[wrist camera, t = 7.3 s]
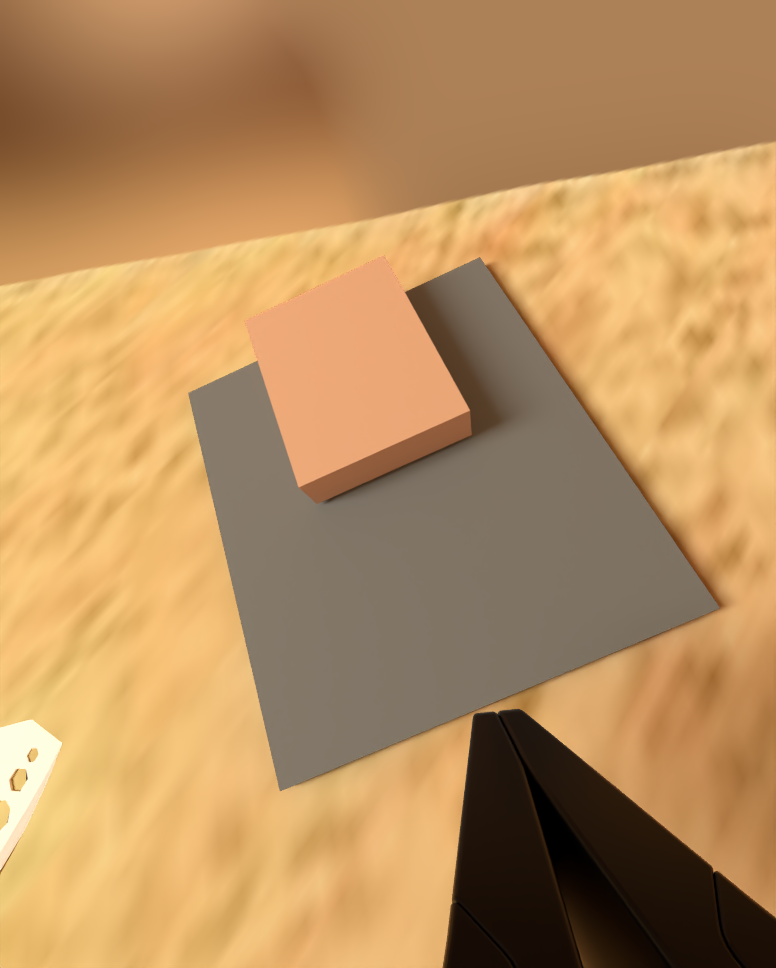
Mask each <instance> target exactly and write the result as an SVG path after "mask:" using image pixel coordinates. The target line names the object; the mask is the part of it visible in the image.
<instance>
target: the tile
mask: <svg viewBox="0 0 776 968" xmlns="http://www.w3.org/2000/svg"><path fill="white" fill-rule="evenodd" d="M245 324H246V327H247V330H248V333H249V336H250V339H251V342H252V345H253V348H254V352H255V355H256V358H257V361H258V364H259V367H260V370H261V373H262V376H263V379H264V382H265V385H266V389H267V392H268V395H269V398H270V401H271V404H272V407H273V410H274V413H275V416H276V419H277V422H278V426H279V429H280V432H281V435H282V438H283V441H284V444H285V447H286V450H287V453H288V456H289V459H290V463H291V466H292V469H293V472H294V475H295V478H296V481H297V484H298V487H299V488H300V489H301V490H302V491H303V492H304V493H305V494H306V495H308V496H309V497H310V498H311V499H312V500H313V501H314V502H315V503H316V504H318V503H321V502H323V501H325V500H327V499H329V498H332V497H334V496H336V495H338V494H341V493H343V492H345V491H347V490H350V489H352V488H354V487H356V486H359V485H361V484H363V483H365V482H368V481H370V480H372V479H374V478H377V477H379V476H381V475H383V474H385V473H388V472H390V471H392V470H394V469H397V468H399V467H401V466H403V465H406V464H408V463H410V462H412V461H415V460H417V459H419V458H421V457H424V456H426V455H428V454H430V453H433V452H435V451H437V450H439V449H441V448H444V447H446V446H448V445H450V444H453V443H455V442H457V441H459V440H462V439H464V438H466V437H468V436H471V435H472V431H471V417H470V410H469V408H468V406H467V404H466V402H465V400H464V399H463V397H462V395H461V393H460V391H459V390H458V388H457V386H456V384H455V382H454V381H453V379H452V377H451V375H450V373H449V371H448V370H447V368H446V366H445V364H444V362H443V361H442V359H441V357H440V355H439V353H438V352H437V350H436V348H435V346H434V344H433V342H432V341H431V339H430V337H429V335H428V333H427V332H426V330H425V328H424V326H423V324H422V323H421V321H420V319H419V317H418V315H417V313H416V312H415V310H414V308H413V306H412V304H411V303H410V301H409V299H408V297H407V295H406V293H405V292H404V290H403V288H402V286H401V284H400V283H399V281H398V279H397V277H396V275H395V274H394V272H393V270H392V268H391V266H390V264H389V263H388V261H387V259H386V257H385V255H383V256H381V257H379V258H377V259H375V260H373V261H371V262H368V263H366V264H364V265H362V266H360V267H358V268H356V269H354V270H351V271H349V272H347V273H345V274H343V275H341V276H339V277H337V278H334V279H332V280H330V281H328V282H326V283H324V284H322V285H320V286H317V287H315V288H313V289H311V290H309V291H307V292H305V293H303V294H300V295H298V296H296V297H294V298H292V299H290V300H288V301H286V302H283V303H281V304H279V305H277V306H275V307H273V308H271V309H269V310H266V311H264V312H262V313H260V314H258V315H256V316H254V317H252V318H249V319H247V320H245Z"/></svg>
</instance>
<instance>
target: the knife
mask: <svg viewBox="0 0 776 968" xmlns="http://www.w3.org/2000/svg"><path fill="white" fill-rule="evenodd" d="M61 746H62V743H61V742H60V741H59V740H57V739H56V738H55V737H54V736H52V735H51V734H50V733H48V732H47V731H46V730H45V729H43V728H42V727H41V726H39V725H38V724H37V723H35V722H34V721H33V720H27V721H23V722H19V723H16V724H12V725H8V726H5V727H1V728H0V801H2V800H6V801H7V803H8V805H9V807H10V813H9V817H8V821H7V824H6V825H5V826H4V827H3V828H2V829H1V831H0V870H1V869H2V867H3V865H4V864H5V862H6V860H7V859H8V857H9V856H10V854H11V852H12V851H13V849H14V847H15V846H16V844H17V842H18V841H19V839H20V837H21V836H22V834H23V832H24V830H25V828H26V826H27V824H28V822H29V820H30V818H31V816H32V814H33V812H34V810H35V807H36V805H37V803H38V801H39V799H40V796H41V794H42V792H43V790H44V788H45V786H46V783H47V781H48V779H49V776H50V774H51V771H52V769H53V766H54V764H55V761H56V758H57V756H58V753H59V751H60V748H61ZM32 748H37V750H38V753H39V755H38V756H37V758H36V760H35V761H34V762H30V761H29V758H28V755H29V753H30V751H31V749H32ZM17 769H26V783H25V784H24V786H23V788H22V789H21V791H15V790H13V786H12V781H11V779H12V777H13V776H14V774H15V773H16V771H17Z"/></svg>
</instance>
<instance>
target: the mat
mask: <svg viewBox="0 0 776 968" xmlns="http://www.w3.org/2000/svg"><path fill="white" fill-rule="evenodd" d="M405 293H406V295H407V297H408V299H409V301H410V303H411V304H412V306H413V308H414V310H415V312H416V313H417V315H418V317H419V319H420V321H421V323H422V324H423V326H424V328H425V330H426V332H427V333H428V335H429V337H430V339H431V341H432V342H433V344H434V346H435V348H436V350H437V352H438V353H439V355H440V357H441V359H442V361H443V362H444V364H445V366H446V368H447V370H448V371H449V373H450V375H451V377H452V379H453V381H454V382H455V384H456V386H457V388H458V390H459V391H460V393H461V395H462V397H463V399H464V400H465V402H466V404H467V406H468V408H469V410H470V417H471V431H472V435H471V436H468V437H466V438H464V439H462V440H459V441H457V442H455V443H453V444H450V445H448V446H446V447H444V448H441V449H439V450H437V451H435V452H433V453H430V454H428V455H426V456H424V457H421V458H419V459H417V460H415V461H412V462H410V463H408V464H406V465H403V466H401V467H399V468H397V469H394V470H392V471H390V472H388V473H385V474H383V475H381V476H379V477H377V478H374V479H372V480H370V481H368V482H365V483H363V484H361V485H359V486H356V487H354V488H352V489H350V490H347V491H345V492H343V493H341V494H338V495H336V496H334V497H332V498H329V499H327V500H325V501H323V502H321V503H318V504H316V503H315V502H314V501H313V500H312V499H311V498H310V497H309V496H308V495H306V494H305V493H304V492H303V491H302V490H301V489H300V488H299V487H298V484H297V481H296V478H295V475H294V472H293V469H292V466H291V463H290V459H289V456H288V453H287V450H286V447H285V444H284V441H283V438H282V435H281V432H280V429H279V426H278V422H277V419H276V416H275V413H274V410H273V407H272V404H271V401H270V398H269V395H268V392H267V389H266V385H265V382H264V379H263V376H262V373H261V370H260V367H259V364H258V361H256V362H254V363H252V364H250V365H248V366H245V367H243V368H241V369H239V370H237V371H235V372H233V373H230V374H228V375H226V376H224V377H222V378H220V379H218V380H215V381H213V382H211V383H209V384H207V385H205V386H203V387H200V388H198V389H196V390H194V391H192V392H190V393H188V394H189V398H190V403H191V407H192V411H193V416H194V420H195V424H196V429H197V433H198V437H199V442H200V446H201V450H202V455H203V459H204V463H205V468H206V472H207V476H208V481H209V485H210V489H211V494H212V498H213V502H214V507H215V511H216V515H217V520H218V524H219V529H220V533H221V537H222V542H223V546H224V550H225V555H226V559H227V563H228V568H229V572H230V576H231V581H232V585H233V589H234V594H235V598H236V602H237V607H238V611H239V615H240V620H241V624H242V628H243V633H244V637H245V641H246V646H247V650H248V654H249V659H250V663H251V667H252V672H253V676H254V680H255V685H256V689H257V693H258V698H259V702H260V707H261V711H262V715H263V720H264V724H265V728H266V733H267V737H268V741H269V746H270V750H271V754H272V759H273V763H274V767H275V772H276V776H277V780H278V785H279V789H280V791H282V790H284V789H287V788H289V787H292V786H294V785H296V784H299V783H301V782H304V781H306V780H308V779H311V778H313V777H316V776H318V775H320V774H323V773H325V772H328V771H330V770H332V769H335V768H337V767H340V766H342V765H344V764H347V763H349V762H352V761H354V760H356V759H359V758H361V757H364V756H366V755H369V754H371V753H373V752H376V751H378V750H381V749H383V748H385V747H388V746H390V745H393V744H395V743H397V742H400V741H402V740H405V739H407V738H409V737H412V736H414V735H417V734H419V733H421V732H424V731H426V730H429V729H431V728H433V727H436V726H438V725H441V724H443V723H445V722H448V721H450V720H453V719H455V718H458V717H460V716H462V715H465V714H467V713H470V712H472V711H474V710H477V709H479V708H482V707H484V706H486V705H489V704H491V703H494V702H496V701H498V700H501V699H503V698H506V697H508V696H510V695H513V694H515V693H518V692H520V691H522V690H525V689H527V688H530V687H532V686H534V685H537V684H539V683H542V682H544V681H547V680H549V679H551V678H554V677H556V676H559V675H561V674H563V673H566V672H568V671H571V670H573V669H575V668H578V667H580V666H583V665H585V664H587V663H590V662H592V661H595V660H597V659H599V658H602V657H604V656H607V655H609V654H611V653H614V652H616V651H619V650H621V649H623V648H626V647H628V646H631V645H633V644H636V643H638V642H640V641H643V640H645V639H648V638H650V637H652V636H655V635H657V634H660V633H662V632H664V631H667V630H669V629H672V628H674V627H676V626H679V625H681V624H684V623H686V622H688V621H691V620H693V619H696V618H698V617H700V616H703V615H705V614H708V613H710V612H712V611H715V610H717V609H720V607H719V606H718V604H717V603H716V601H715V600H714V599H713V597H712V596H711V594H710V593H709V591H708V590H707V588H706V587H705V585H704V584H703V582H702V581H701V580H700V578H699V577H698V575H697V574H696V572H695V571H694V569H693V568H692V566H691V565H690V563H689V562H688V561H687V559H686V558H685V556H684V555H683V553H682V552H681V550H680V549H679V547H678V546H677V544H676V543H675V542H674V540H673V539H672V537H671V536H670V534H669V533H668V531H667V530H666V528H665V527H664V526H663V524H662V523H661V521H660V520H659V518H658V517H657V515H656V514H655V512H654V511H653V509H652V508H651V507H650V505H649V504H648V502H647V501H646V499H645V498H644V496H643V495H642V493H641V492H640V490H639V489H638V488H637V486H636V485H635V483H634V482H633V480H632V479H631V477H630V476H629V474H628V473H627V471H626V470H625V469H624V467H623V466H622V464H621V463H620V461H619V460H618V458H617V457H616V455H615V454H614V452H613V451H612V450H611V448H610V447H609V445H608V444H607V442H606V441H605V439H604V438H603V436H602V435H601V433H600V432H599V431H598V429H597V428H596V426H595V425H594V423H593V422H592V420H591V419H590V417H589V416H588V414H587V413H586V412H585V410H584V409H583V407H582V406H581V404H580V403H579V401H578V400H577V398H576V397H575V395H574V394H573V393H572V391H571V390H570V388H569V387H568V385H567V384H566V382H565V381H564V379H563V378H562V376H561V375H560V374H559V372H558V371H557V369H556V368H555V366H554V365H553V363H552V362H551V360H550V359H549V357H548V356H547V355H546V353H545V352H544V350H543V349H542V347H541V346H540V344H539V343H538V341H537V340H536V338H535V337H534V336H533V334H532V333H531V331H530V330H529V328H528V327H527V325H526V324H525V322H524V321H523V319H522V318H521V317H520V315H519V314H518V312H517V311H516V309H515V308H514V306H513V305H512V303H511V302H510V300H509V299H508V298H507V296H506V295H505V293H504V292H503V290H502V289H501V287H500V286H499V284H498V283H497V281H496V280H495V279H494V277H493V276H492V274H491V273H490V271H489V270H488V268H487V267H486V265H485V264H484V262H483V261H482V260H481V258H477V259H475V260H473V261H471V262H469V263H467V264H464V265H462V266H460V267H458V268H456V269H454V270H452V271H449V272H447V273H445V274H443V275H441V276H439V277H437V278H434V279H432V280H430V281H428V282H426V283H424V284H422V285H419V286H417V287H415V288H413V289H411V290H409V291H406V292H405Z"/></svg>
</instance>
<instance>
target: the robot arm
mask: <svg viewBox="0 0 776 968" xmlns="http://www.w3.org/2000/svg"><path fill="white" fill-rule="evenodd" d="M443 968H776V918H775V917H774V916H773V915H772V914H770V913H769V912H768V911H767V910H765V909H764V908H763V907H762V906H760V905H759V904H758V903H757V902H755V901H754V900H753V899H751V898H750V897H749V896H748V895H747V894H745V893H744V892H743V891H742V890H740V889H739V888H738V887H737V886H736V885H734V884H733V883H732V882H731V881H730V880H728V879H727V878H726V877H725V876H723V875H722V874H721V873H720V872H718V871H715V872H714V874H713V868H712V866H711V865H710V864H709V863H707V862H706V861H705V860H704V859H702V858H701V857H700V856H699V855H698V854H696V853H695V852H694V851H693V850H691V849H690V848H689V847H688V846H687V845H685V844H684V843H683V842H682V841H681V840H679V839H678V838H677V837H676V836H674V835H673V834H672V833H671V832H670V831H668V830H667V829H666V828H665V827H664V826H662V825H661V824H660V823H659V822H657V821H656V820H655V819H654V818H653V817H651V816H650V815H649V814H648V813H647V812H645V811H644V810H643V809H642V808H640V807H639V806H638V805H637V804H636V803H634V802H633V801H632V800H631V799H630V798H628V797H627V796H626V795H625V794H623V793H622V792H621V791H620V790H619V789H617V788H616V787H615V786H614V785H613V784H611V783H610V782H609V781H608V780H606V779H605V778H604V777H603V776H602V775H600V774H599V773H598V772H597V771H596V770H594V769H593V768H592V767H591V766H589V765H588V764H587V763H586V762H585V761H583V760H582V759H581V758H580V757H578V756H577V755H576V754H575V753H574V752H572V751H571V750H570V749H569V748H568V747H566V746H565V745H564V744H563V743H561V742H560V741H559V740H558V739H557V738H555V737H554V736H553V735H552V734H551V733H549V732H548V731H547V730H546V729H544V728H543V727H542V726H541V725H540V724H538V723H537V722H536V721H535V720H534V719H532V718H531V717H530V716H529V715H527V714H526V713H525V712H524V711H522V710H520V709H512V710H503V711H500V712H499V713H498V714H497V713H495V712H485V713H476V714H475V715H474V716H473V722H472V731H471V739H470V748H469V757H468V765H467V774H466V782H465V791H464V800H463V808H462V817H461V826H460V834H459V843H458V851H457V860H456V869H455V877H454V886H453V894H452V905H451V909H450V917H449V926H448V935H447V942H446V949H445V955H444V962H443Z"/></svg>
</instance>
